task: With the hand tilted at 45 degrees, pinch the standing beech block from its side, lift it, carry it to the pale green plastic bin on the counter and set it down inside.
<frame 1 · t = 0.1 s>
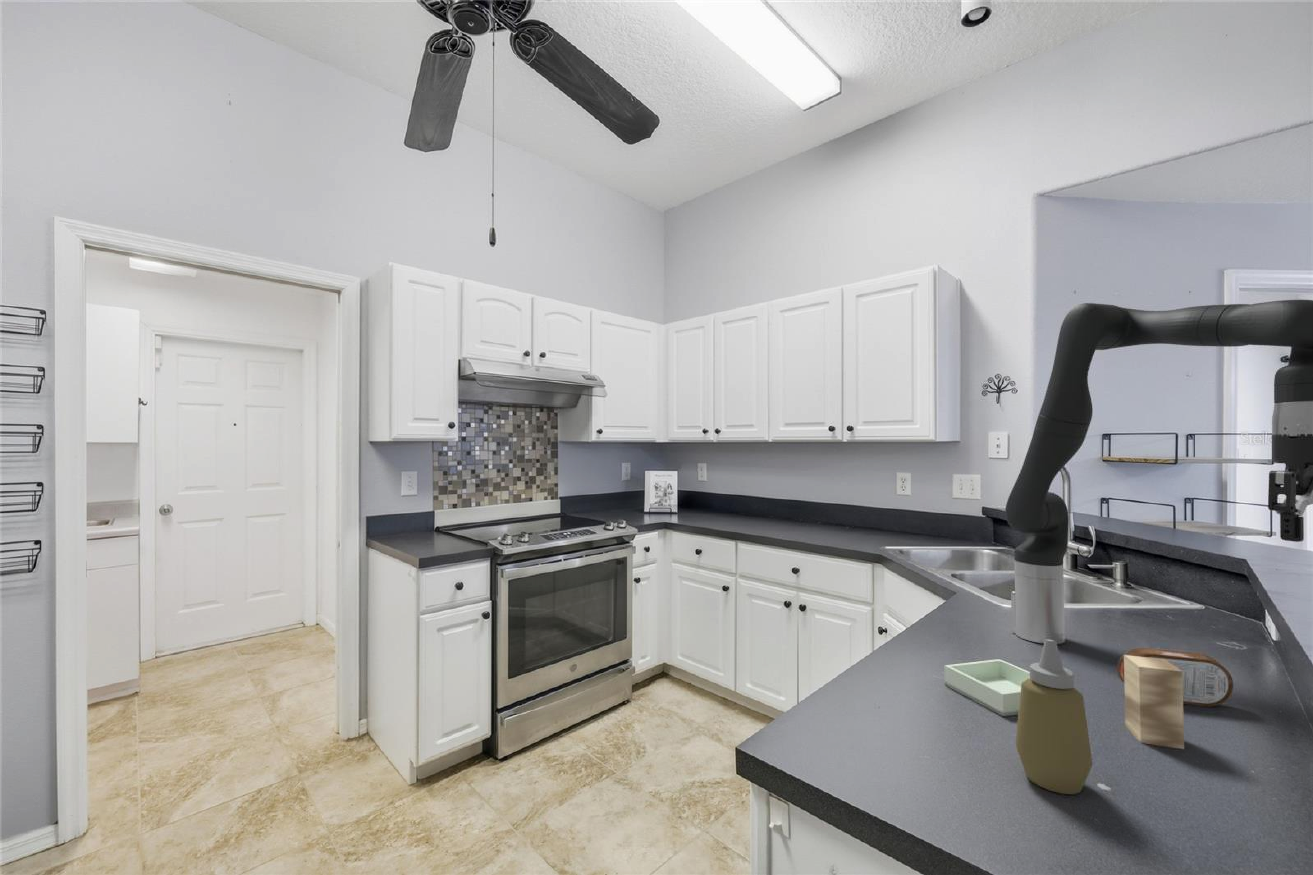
hand: (1310, 539, 83), 29 cm above the counter, tool pointing down, fingers open, 8 cm apart
squeeze bottle: (1053, 783, 71), on the counter
beech block: (1153, 737, 82), on the counter
bin: (1001, 695, 96), on the counter
tin: (1174, 702, 94), on the counter
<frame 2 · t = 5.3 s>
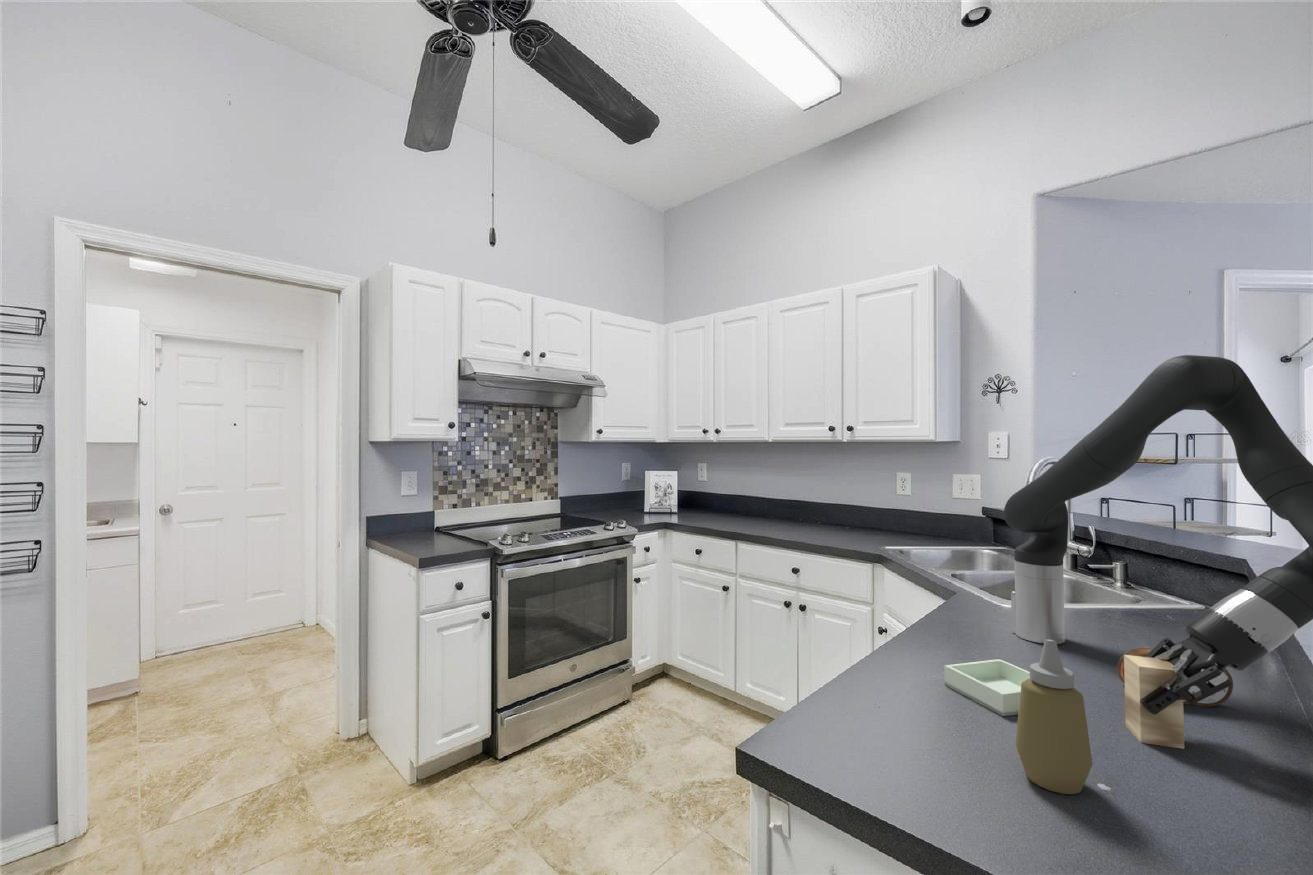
hand: (1137, 700, 83), 5 cm above the counter, tool tilted 45°, fingers closed on beech block, 5 cm apart
beech block: (1153, 737, 82), on the counter, touching gripper
everything else where it was.
when the fingers open (8 cm above the counter, at t = 10.3 s): beech block drops 2 cm, resting on bin.
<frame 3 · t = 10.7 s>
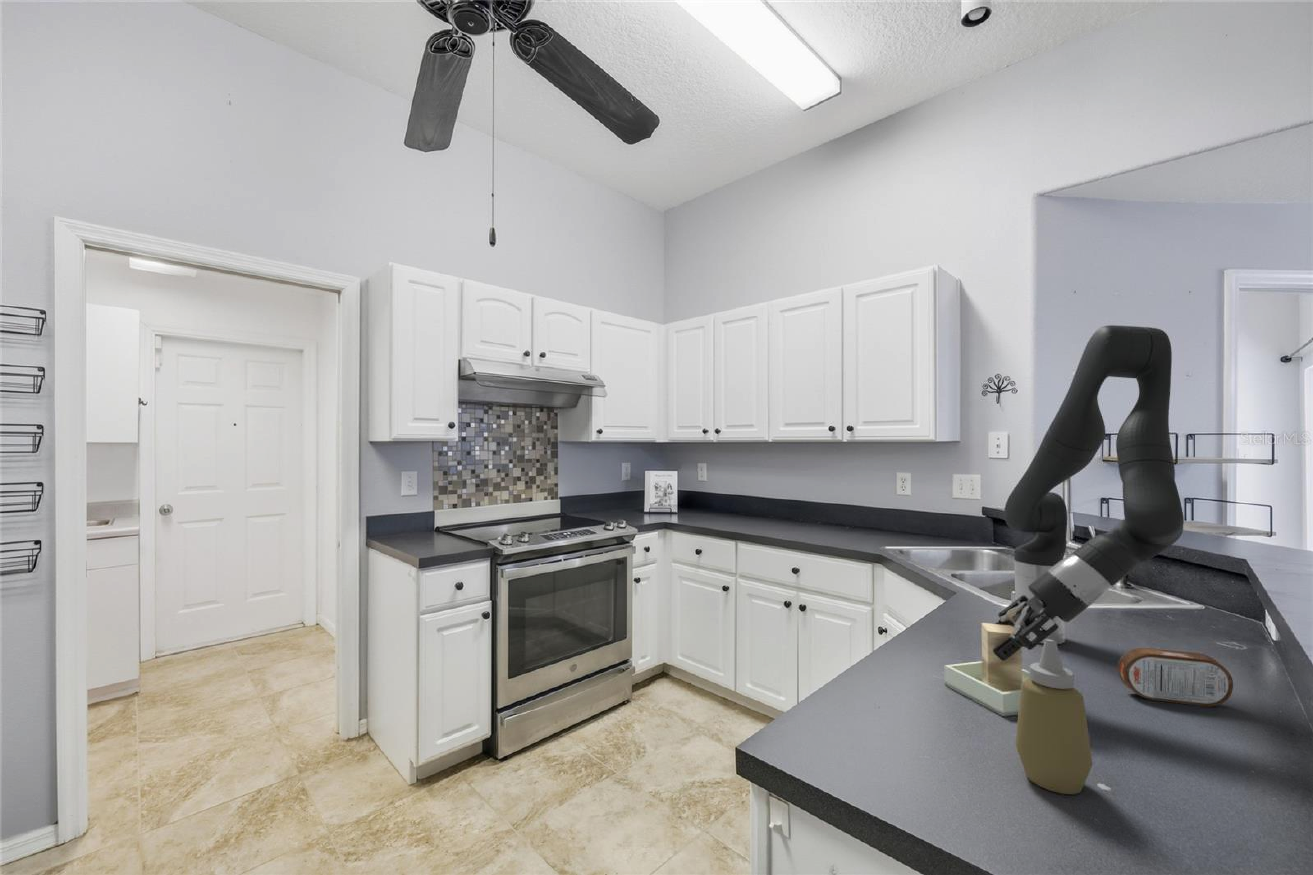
hand: (991, 647, 97), 8 cm above the counter, tool tilted 45°, fingers open, 8 cm apart
beech block: (1001, 692, 96), point 1 cm above the counter, touching bin
everything else where it was.
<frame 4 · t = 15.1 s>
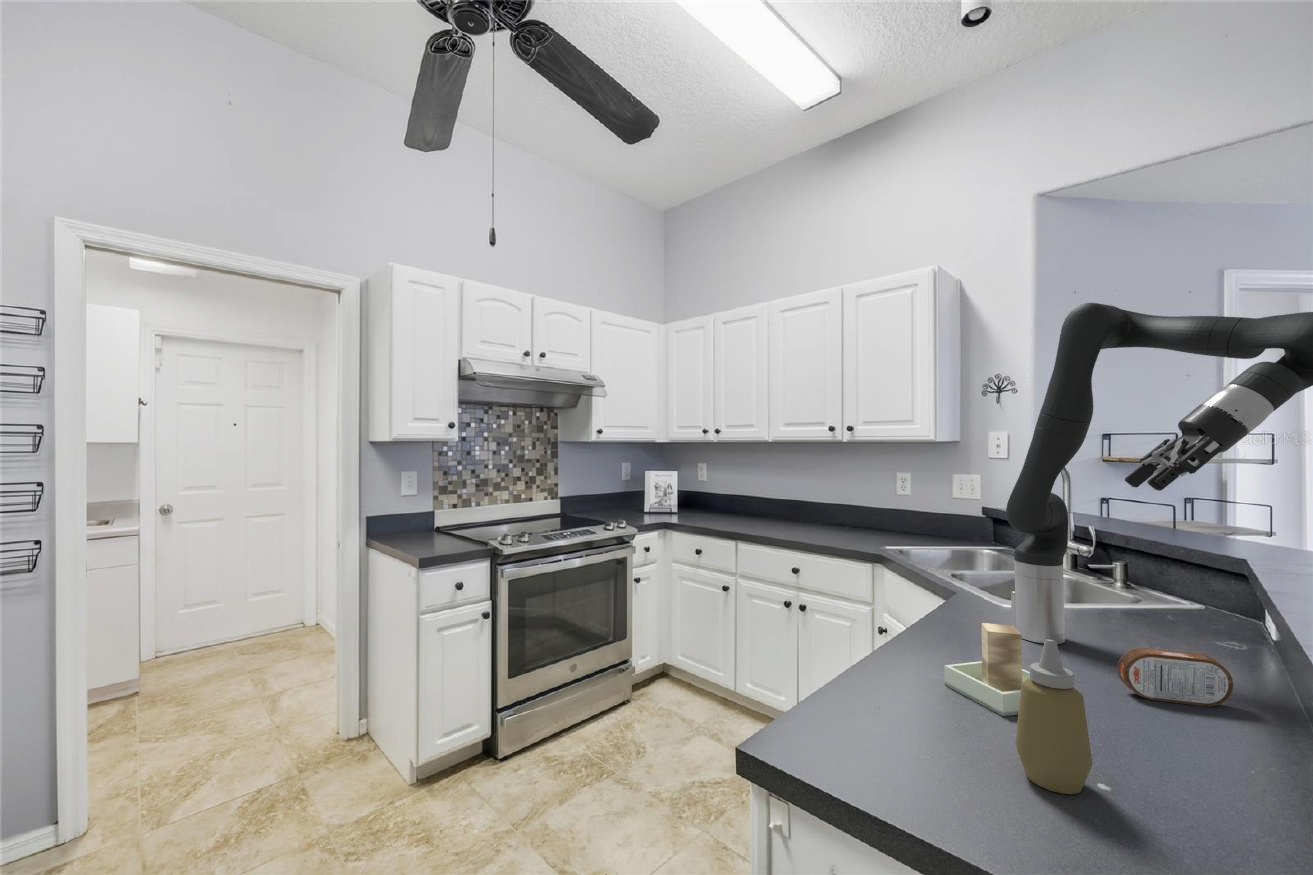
hand: (1140, 485, 96), 37 cm above the counter, tool tilted 45°, fingers open, 8 cm apart
nothing on the counter moved.
at the end: beech block inside the target area on the bin (0.1 cm from its centre), point 0.6 cm above the bin's base; beech block tilted 0°; the gripper is holding nothing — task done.
